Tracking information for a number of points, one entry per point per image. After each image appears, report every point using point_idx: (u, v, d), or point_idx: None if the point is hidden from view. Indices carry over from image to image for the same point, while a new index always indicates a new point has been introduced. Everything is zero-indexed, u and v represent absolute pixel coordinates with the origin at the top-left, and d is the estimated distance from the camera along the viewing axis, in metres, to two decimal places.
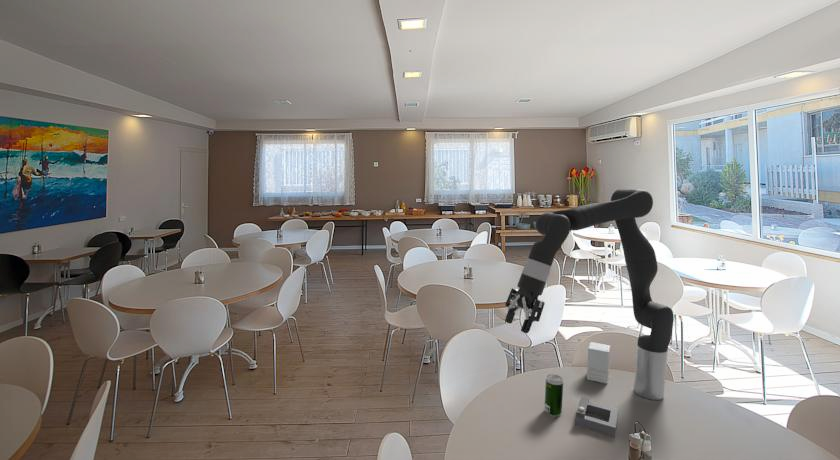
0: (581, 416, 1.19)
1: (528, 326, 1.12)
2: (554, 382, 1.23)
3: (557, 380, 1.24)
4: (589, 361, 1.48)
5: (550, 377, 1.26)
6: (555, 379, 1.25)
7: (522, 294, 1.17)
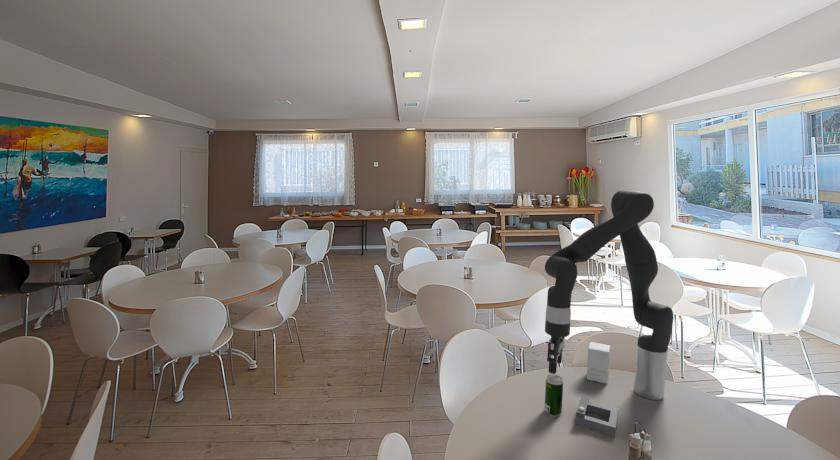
0: (581, 416, 1.19)
1: (551, 367, 1.20)
2: (554, 382, 1.23)
3: (557, 380, 1.24)
4: (589, 361, 1.48)
5: (550, 377, 1.26)
6: (555, 379, 1.25)
7: None
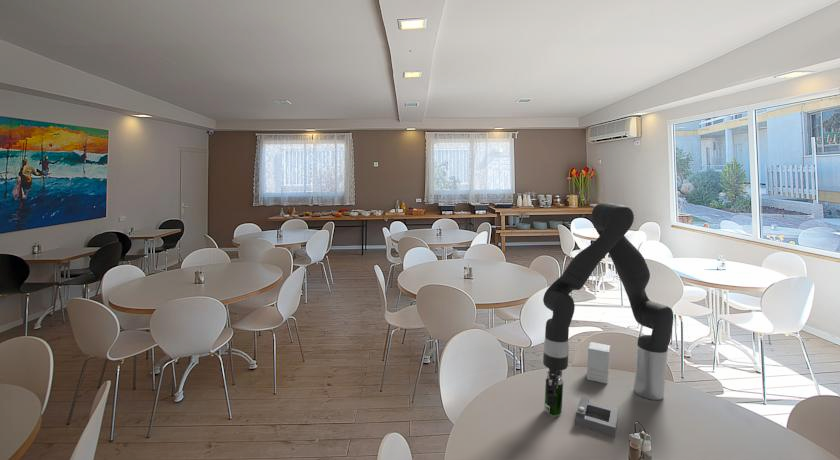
0: (581, 416, 1.19)
1: (550, 400, 1.23)
2: None
3: None
4: (589, 361, 1.48)
5: None
6: None
7: None
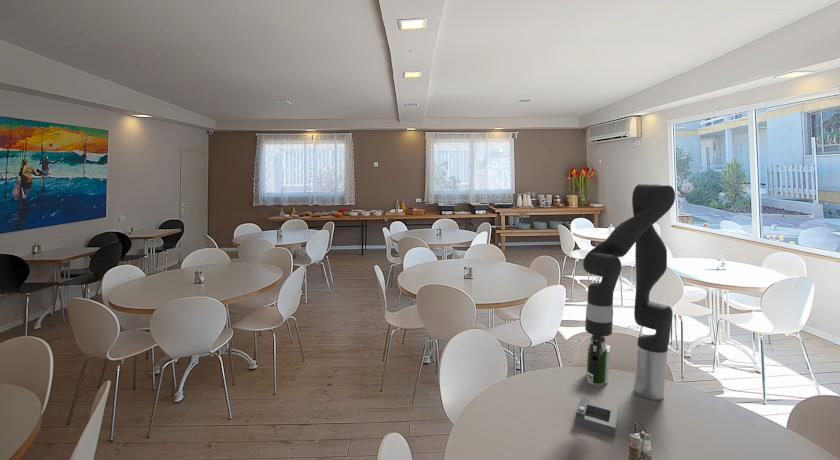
0: (581, 416, 1.19)
1: (594, 368, 1.18)
2: None
3: None
4: None
5: None
6: None
7: None
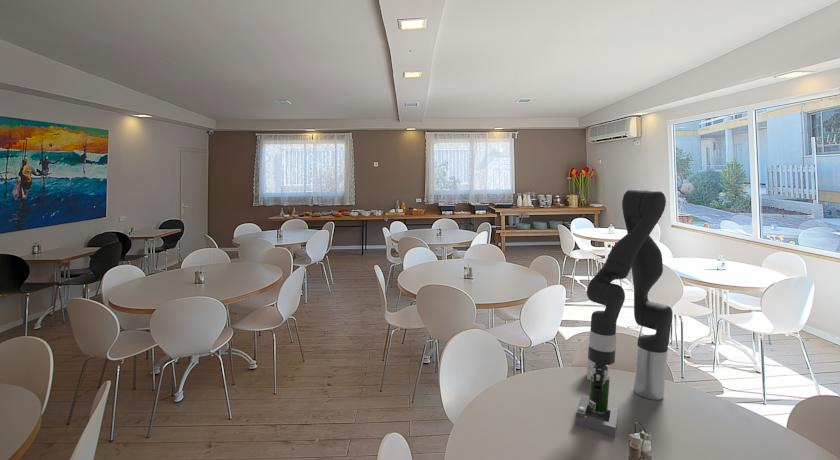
0: (581, 416, 1.19)
1: (597, 396, 1.18)
2: None
3: None
4: (589, 361, 1.48)
5: None
6: None
7: None
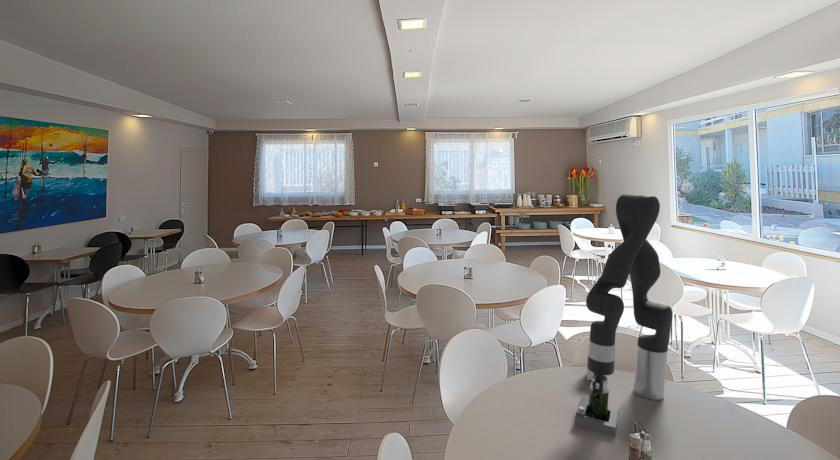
0: (581, 416, 1.19)
1: (596, 406, 1.17)
2: None
3: None
4: None
5: None
6: None
7: None
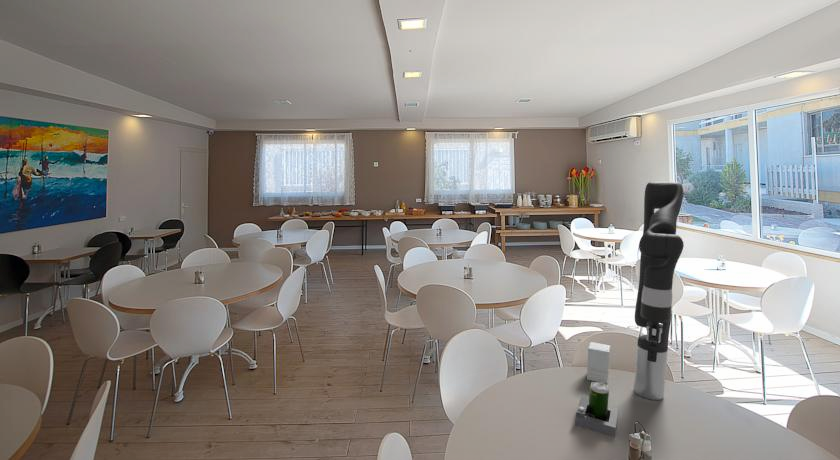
0: (581, 416, 1.19)
1: (651, 355, 1.10)
2: (600, 390, 1.19)
3: (603, 388, 1.19)
4: (589, 361, 1.48)
5: (595, 385, 1.21)
6: (600, 387, 1.20)
7: (650, 321, 1.14)
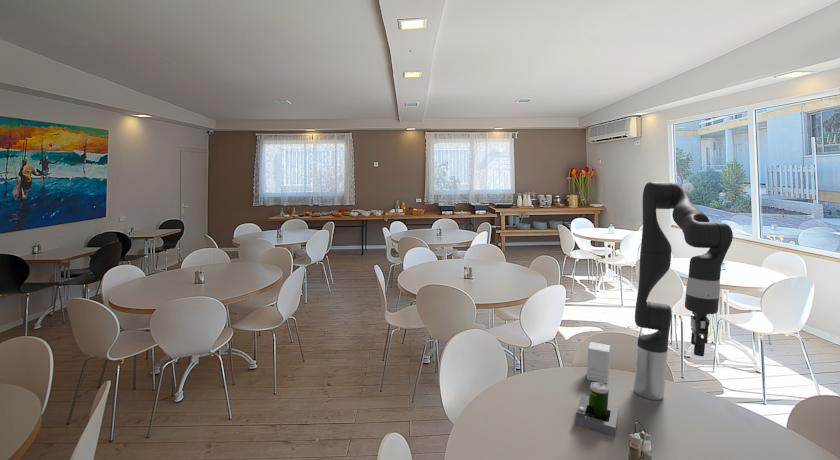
0: (581, 416, 1.19)
1: (699, 349, 1.05)
2: (599, 390, 1.19)
3: (602, 388, 1.19)
4: (589, 361, 1.48)
5: (594, 385, 1.21)
6: (600, 387, 1.20)
7: (695, 314, 1.10)
